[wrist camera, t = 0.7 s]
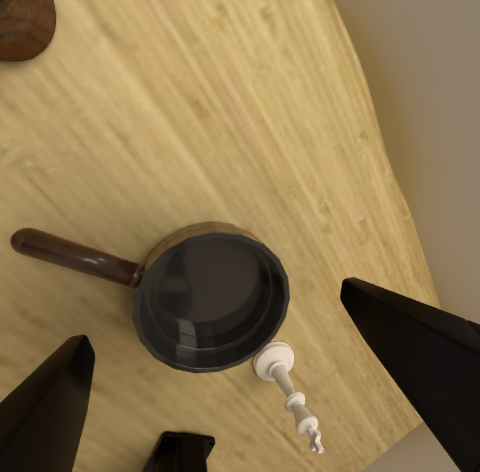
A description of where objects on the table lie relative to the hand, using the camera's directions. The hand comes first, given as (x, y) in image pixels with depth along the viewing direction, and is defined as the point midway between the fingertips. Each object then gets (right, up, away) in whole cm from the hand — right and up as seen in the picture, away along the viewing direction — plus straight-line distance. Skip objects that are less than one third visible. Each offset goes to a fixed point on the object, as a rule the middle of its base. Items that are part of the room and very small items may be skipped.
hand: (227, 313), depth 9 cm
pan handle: (-11, +1, +10) cm, 15 cm away
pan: (-2, -2, +16) cm, 16 cm away
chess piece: (+4, -12, +21) cm, 24 cm away
